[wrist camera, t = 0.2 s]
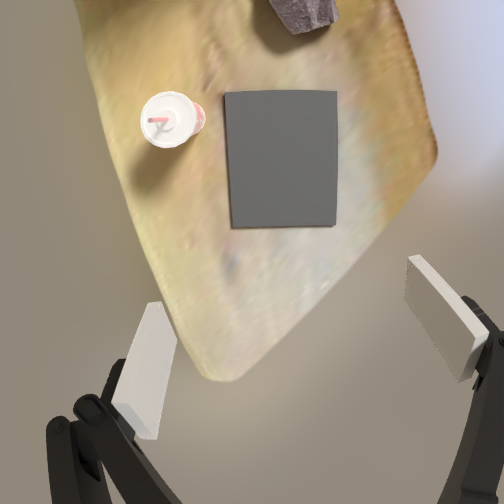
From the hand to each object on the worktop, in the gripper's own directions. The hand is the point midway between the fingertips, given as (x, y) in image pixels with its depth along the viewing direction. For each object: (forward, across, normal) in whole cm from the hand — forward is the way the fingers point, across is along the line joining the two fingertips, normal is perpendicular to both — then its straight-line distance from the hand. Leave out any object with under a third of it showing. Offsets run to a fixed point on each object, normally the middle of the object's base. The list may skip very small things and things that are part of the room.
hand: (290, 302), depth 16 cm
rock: (+28, +9, +23) cm, 38 cm away
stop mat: (+27, +3, +2) cm, 27 cm away
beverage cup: (+28, -8, +10) cm, 31 cm away
